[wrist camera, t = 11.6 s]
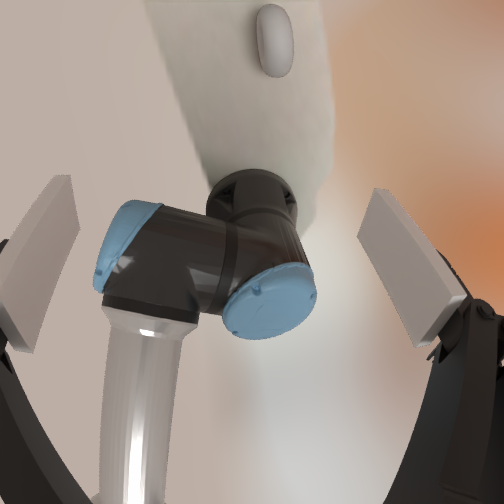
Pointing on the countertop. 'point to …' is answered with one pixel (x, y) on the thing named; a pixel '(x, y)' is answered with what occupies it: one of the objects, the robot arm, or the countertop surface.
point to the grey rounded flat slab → (274, 40)
